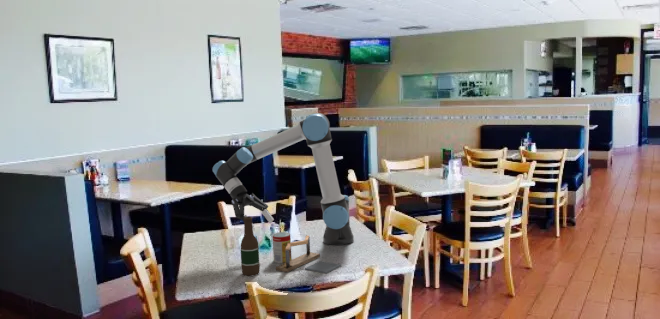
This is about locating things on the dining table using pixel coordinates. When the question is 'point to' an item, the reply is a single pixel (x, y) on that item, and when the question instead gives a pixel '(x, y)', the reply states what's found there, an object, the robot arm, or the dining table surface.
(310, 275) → the dining table surface
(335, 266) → the charcoal mat
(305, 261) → the wooden frame rack
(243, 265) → the beer bottle
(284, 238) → the canned food
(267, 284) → the dining table surface
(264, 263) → the dining table surface
